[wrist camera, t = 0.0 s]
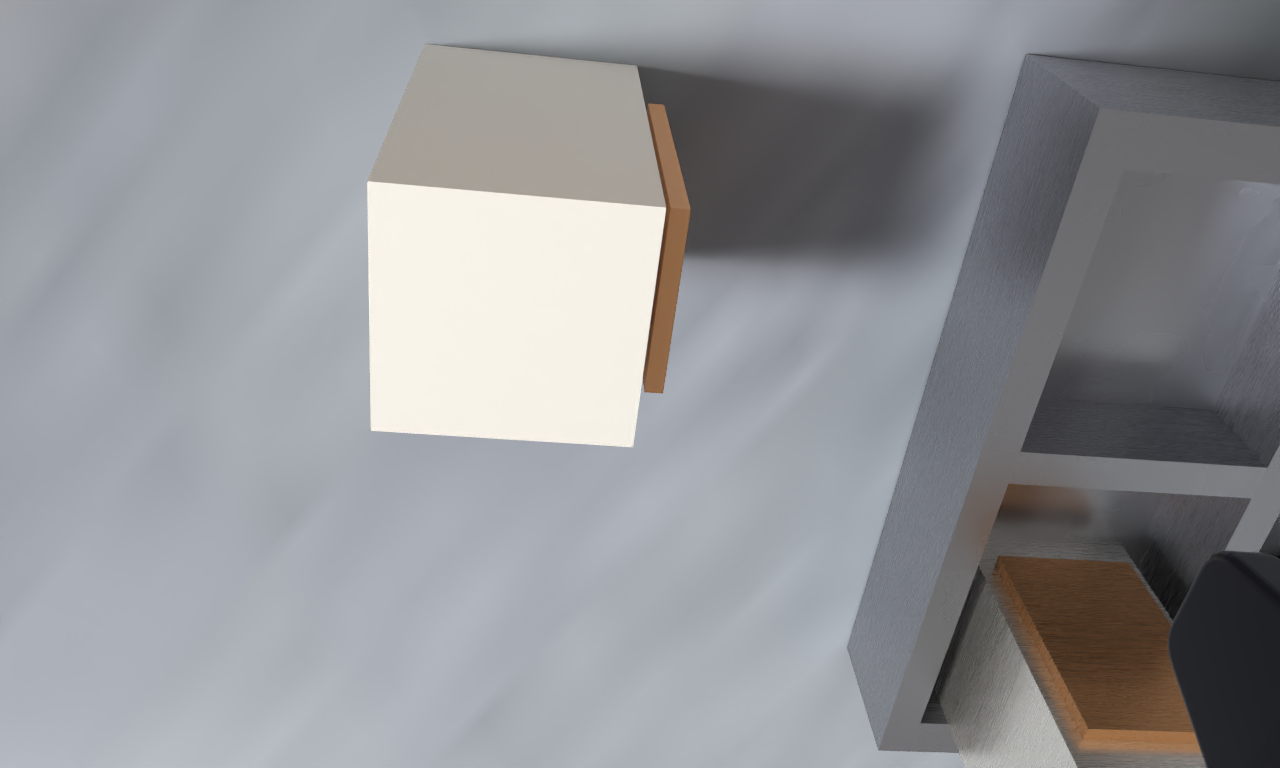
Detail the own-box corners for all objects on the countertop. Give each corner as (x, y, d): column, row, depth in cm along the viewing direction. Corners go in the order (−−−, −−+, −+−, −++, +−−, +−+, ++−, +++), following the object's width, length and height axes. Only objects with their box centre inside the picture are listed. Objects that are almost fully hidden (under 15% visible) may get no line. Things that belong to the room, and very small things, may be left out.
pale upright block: (662, 68, 21) (702, 210, 15) (638, 258, 23) (664, 448, 17) (424, 43, 20) (367, 181, 14) (422, 240, 22) (370, 430, 16)
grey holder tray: (1091, 658, 30) (1250, 942, 23) (847, 648, 29) (935, 939, 22) (1356, 89, 22) (1730, 266, 15) (1025, 53, 21) (1256, 223, 14)
